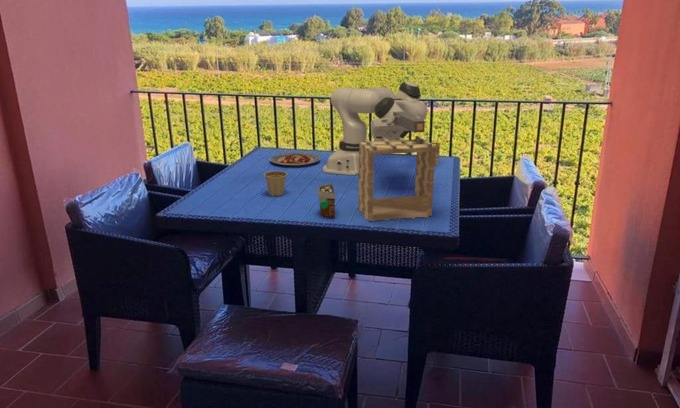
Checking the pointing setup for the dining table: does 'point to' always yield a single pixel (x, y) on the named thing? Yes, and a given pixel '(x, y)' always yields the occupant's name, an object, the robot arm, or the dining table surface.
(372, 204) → the pine shelf
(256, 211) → the dining table surface
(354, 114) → the robot arm
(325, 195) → the food container
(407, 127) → the grey brown bar
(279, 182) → the flower pot
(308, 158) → the ceramic plate
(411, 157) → the dining table surface
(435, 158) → the crayon box
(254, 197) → the dining table surface
